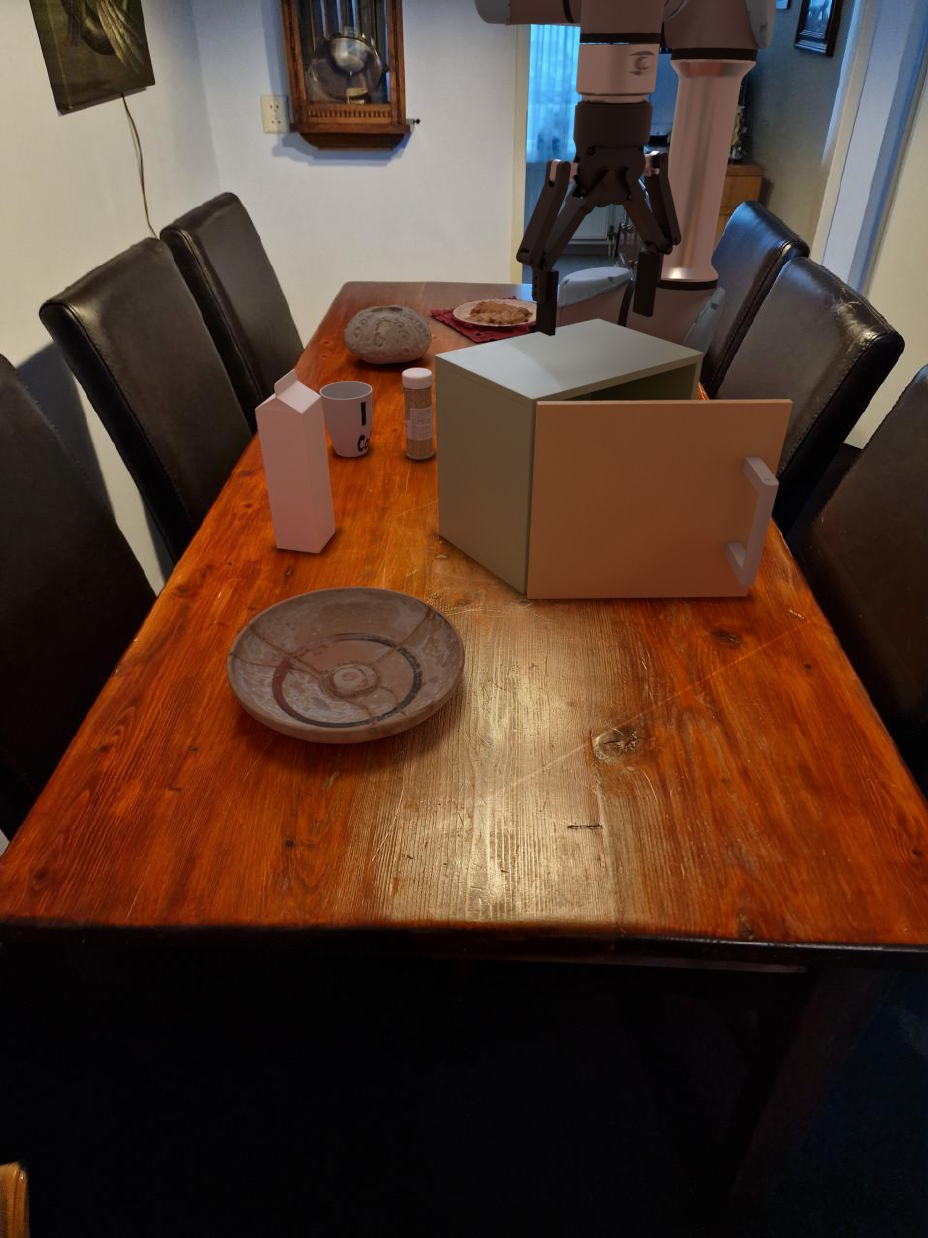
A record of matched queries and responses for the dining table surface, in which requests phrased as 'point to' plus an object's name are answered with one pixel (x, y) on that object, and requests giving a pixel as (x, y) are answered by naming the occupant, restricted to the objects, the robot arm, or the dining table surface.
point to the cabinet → (531, 422)
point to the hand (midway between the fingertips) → (595, 323)
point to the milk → (296, 466)
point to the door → (652, 496)
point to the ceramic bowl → (346, 664)
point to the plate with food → (490, 318)
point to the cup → (348, 416)
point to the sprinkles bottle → (418, 413)
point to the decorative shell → (388, 334)
